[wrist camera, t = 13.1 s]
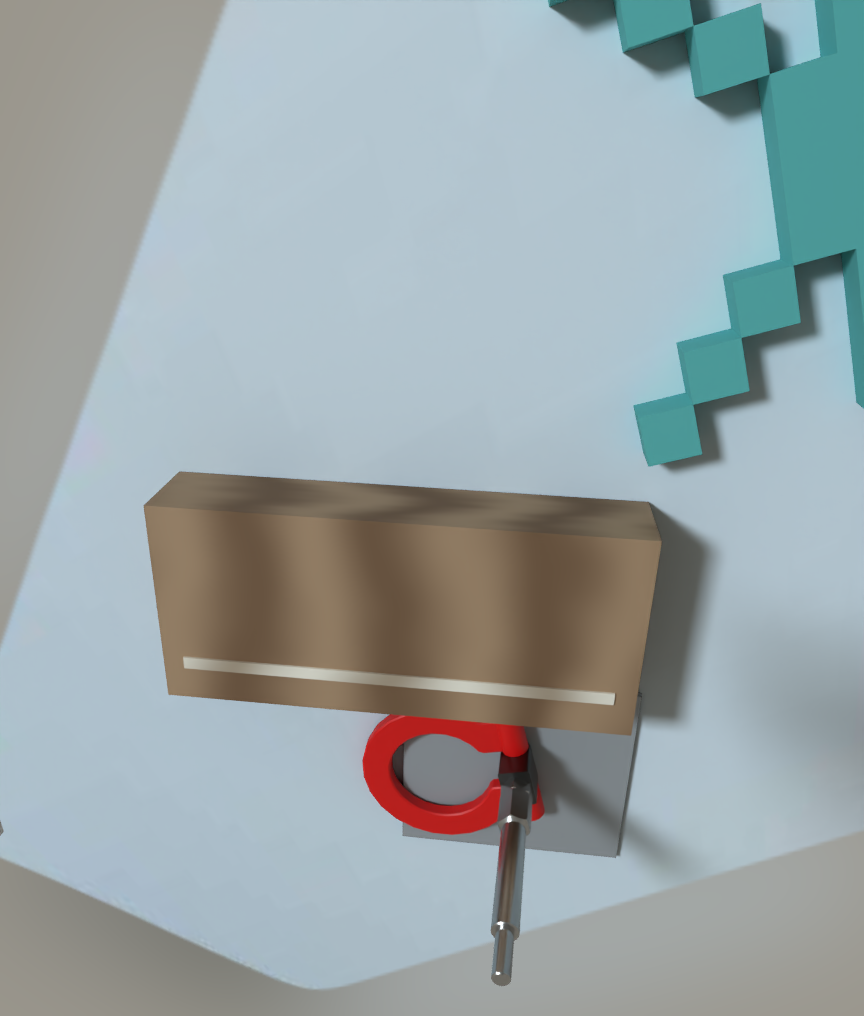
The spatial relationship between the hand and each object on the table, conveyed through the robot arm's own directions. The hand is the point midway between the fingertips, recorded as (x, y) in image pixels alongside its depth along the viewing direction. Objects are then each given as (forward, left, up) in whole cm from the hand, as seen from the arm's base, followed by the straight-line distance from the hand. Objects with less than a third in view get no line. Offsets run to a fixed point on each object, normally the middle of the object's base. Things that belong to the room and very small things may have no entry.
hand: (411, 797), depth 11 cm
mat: (-3, +22, -26) cm, 35 cm away
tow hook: (+1, +22, -26) cm, 34 cm away
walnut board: (+3, +11, -26) cm, 29 cm away
